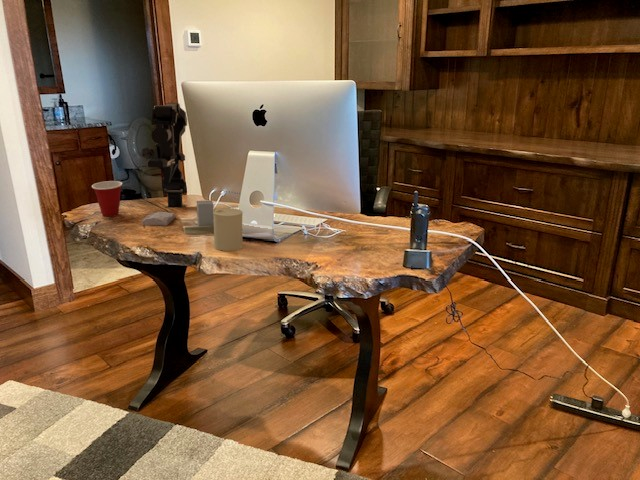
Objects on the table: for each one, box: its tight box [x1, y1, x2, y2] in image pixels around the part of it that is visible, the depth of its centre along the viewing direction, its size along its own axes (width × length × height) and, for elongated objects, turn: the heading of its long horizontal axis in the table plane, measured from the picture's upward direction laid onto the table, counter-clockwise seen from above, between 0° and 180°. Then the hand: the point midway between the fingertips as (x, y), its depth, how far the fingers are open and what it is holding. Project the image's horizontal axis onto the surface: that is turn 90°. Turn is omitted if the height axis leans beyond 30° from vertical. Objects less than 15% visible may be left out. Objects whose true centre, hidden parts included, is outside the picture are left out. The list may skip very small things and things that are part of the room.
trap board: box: [180, 216, 214, 238], centre depth 184 cm, size 20×15×3 cm
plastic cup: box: [91, 180, 123, 217], centre depth 194 cm, size 11×11×12 cm
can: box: [213, 207, 244, 252], centre depth 164 cm, size 9×9×12 cm
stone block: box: [141, 211, 176, 229], centre depth 187 cm, size 12×5×10 cm
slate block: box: [196, 199, 214, 226], centre depth 180 cm, size 5×5×9 cm
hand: (167, 182), depth 193 cm, fingers closed
